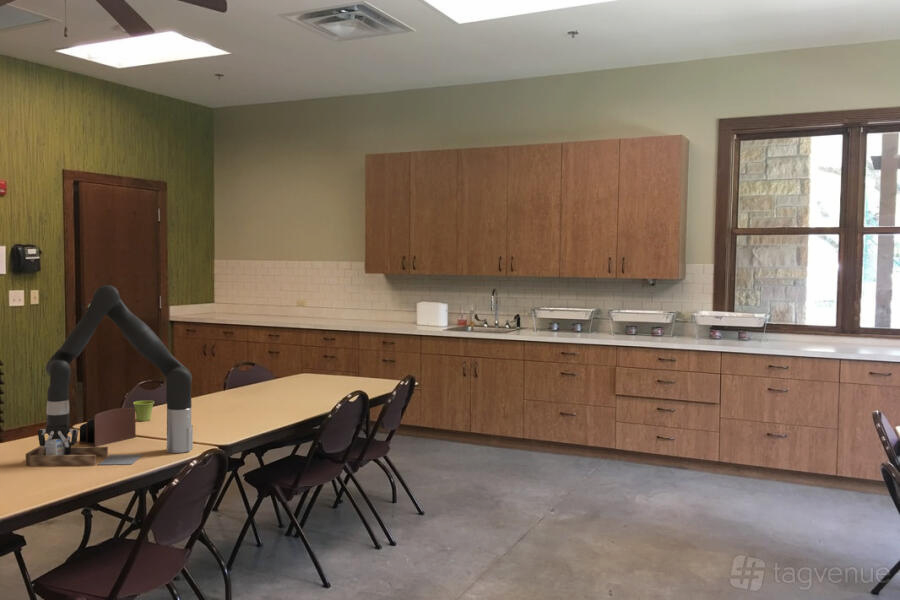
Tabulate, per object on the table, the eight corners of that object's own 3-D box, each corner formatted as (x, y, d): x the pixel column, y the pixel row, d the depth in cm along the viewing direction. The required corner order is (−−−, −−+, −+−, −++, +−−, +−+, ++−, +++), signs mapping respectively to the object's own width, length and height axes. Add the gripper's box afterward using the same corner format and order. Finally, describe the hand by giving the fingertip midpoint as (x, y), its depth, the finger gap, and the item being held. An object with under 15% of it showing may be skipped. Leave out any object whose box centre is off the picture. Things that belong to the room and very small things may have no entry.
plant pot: (150, 417, 359) (150, 399, 359) (157, 420, 352) (157, 402, 351) (130, 419, 353) (130, 401, 353) (136, 423, 346) (136, 404, 345)
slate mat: (142, 455, 287) (142, 454, 287) (131, 464, 273) (131, 463, 273) (110, 455, 286) (110, 454, 286) (97, 465, 272) (97, 464, 272)
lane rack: (107, 455, 286) (107, 444, 285) (94, 465, 272) (94, 453, 271) (42, 456, 283) (42, 444, 283) (25, 465, 269) (25, 453, 269)
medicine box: (55, 464, 272) (55, 440, 272) (45, 463, 273) (45, 439, 273) (70, 458, 280) (70, 436, 280) (60, 457, 281) (60, 435, 281)
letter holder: (136, 438, 317) (136, 405, 316) (94, 447, 299) (94, 412, 298) (120, 435, 321) (120, 403, 321) (78, 444, 304) (78, 410, 303)
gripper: (82, 410, 281) (82, 454, 281) (42, 410, 279) (42, 454, 280) (74, 414, 273) (74, 459, 274) (33, 414, 272) (33, 459, 272)
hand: (58, 456), depth 277 cm, fingers open, 6 cm apart
